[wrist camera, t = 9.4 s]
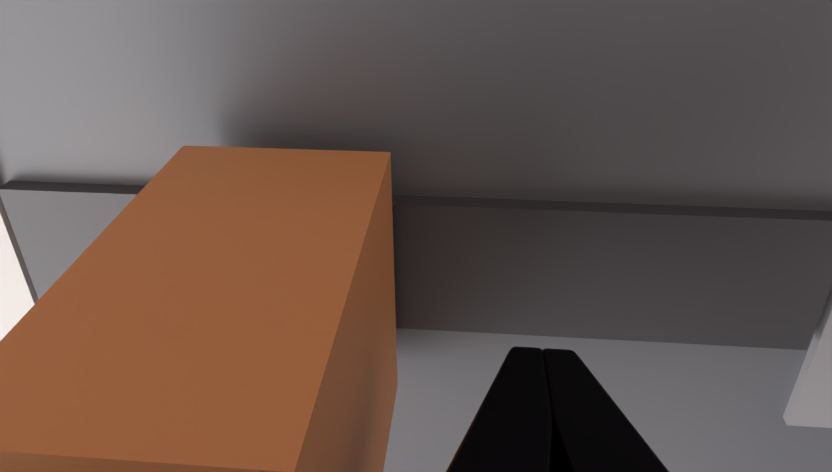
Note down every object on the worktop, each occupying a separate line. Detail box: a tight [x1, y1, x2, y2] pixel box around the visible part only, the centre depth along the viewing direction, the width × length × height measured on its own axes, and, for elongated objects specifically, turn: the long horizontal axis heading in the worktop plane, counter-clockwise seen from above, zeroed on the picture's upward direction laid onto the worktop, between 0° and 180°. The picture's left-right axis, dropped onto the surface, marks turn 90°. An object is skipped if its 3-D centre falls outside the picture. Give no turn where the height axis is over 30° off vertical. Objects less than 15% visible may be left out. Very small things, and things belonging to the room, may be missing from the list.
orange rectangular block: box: [0, 146, 398, 472], centre depth 8 cm, size 3×4×6 cm
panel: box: [0, 0, 832, 472], centre depth 12 cm, size 20×15×3 cm
